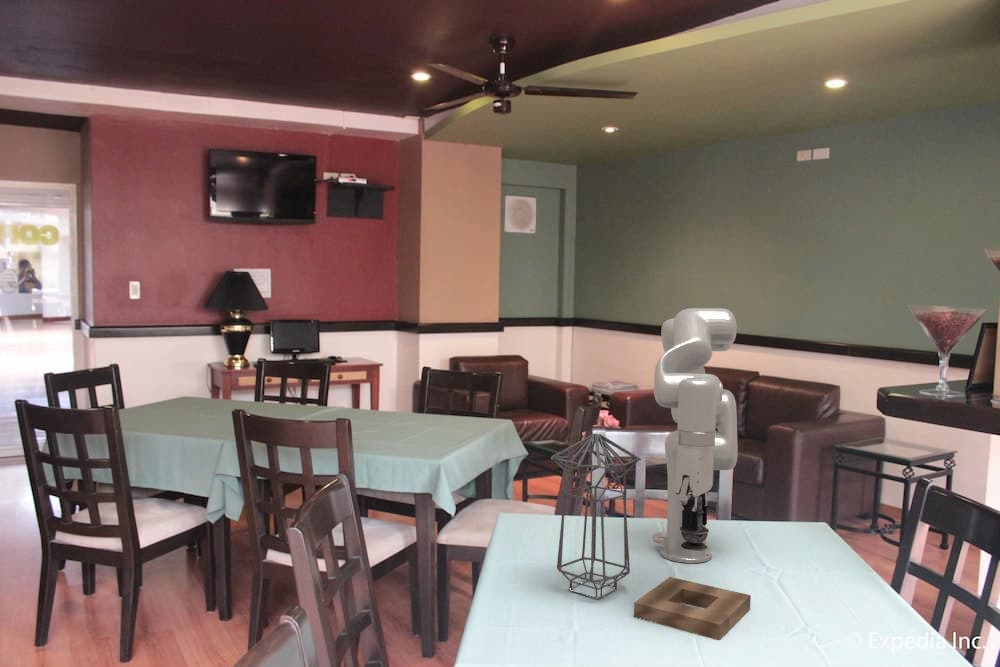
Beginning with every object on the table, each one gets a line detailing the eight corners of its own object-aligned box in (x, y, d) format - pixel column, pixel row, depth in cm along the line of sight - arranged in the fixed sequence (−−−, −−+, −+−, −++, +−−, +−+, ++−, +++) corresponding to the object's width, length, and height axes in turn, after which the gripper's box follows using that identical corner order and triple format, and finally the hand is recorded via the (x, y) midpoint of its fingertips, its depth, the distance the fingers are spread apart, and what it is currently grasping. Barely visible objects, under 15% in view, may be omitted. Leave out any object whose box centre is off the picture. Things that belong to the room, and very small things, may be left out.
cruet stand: (633, 617, 162) (634, 602, 162) (669, 590, 177) (669, 576, 177) (719, 639, 152) (720, 624, 152) (750, 609, 166) (750, 595, 166)
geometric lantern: (544, 590, 176) (546, 433, 175) (586, 573, 188) (588, 426, 187) (602, 609, 166) (604, 442, 165) (643, 590, 177) (646, 434, 176)
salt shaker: (675, 542, 166) (676, 485, 165) (703, 541, 167) (704, 485, 166) (684, 551, 160) (685, 492, 160) (713, 551, 161) (714, 492, 160)
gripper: (694, 430, 171) (692, 514, 172) (662, 442, 158) (660, 533, 159) (728, 434, 167) (726, 520, 168) (698, 447, 153) (696, 540, 154)
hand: (694, 525), depth 163 cm, fingers closed on salt shaker, 4 cm apart
